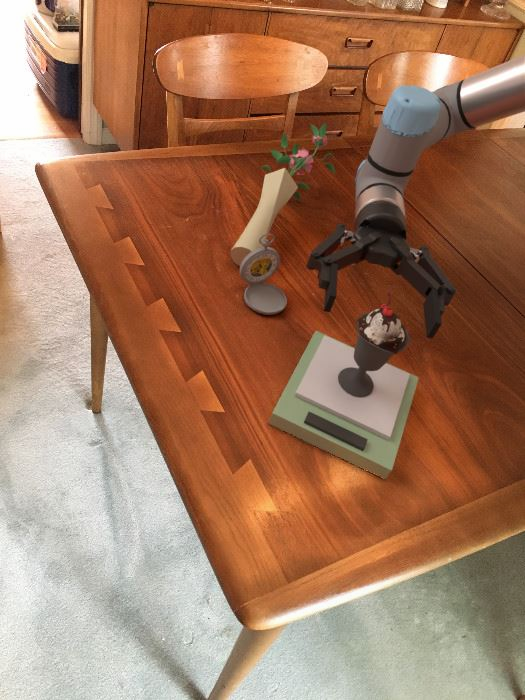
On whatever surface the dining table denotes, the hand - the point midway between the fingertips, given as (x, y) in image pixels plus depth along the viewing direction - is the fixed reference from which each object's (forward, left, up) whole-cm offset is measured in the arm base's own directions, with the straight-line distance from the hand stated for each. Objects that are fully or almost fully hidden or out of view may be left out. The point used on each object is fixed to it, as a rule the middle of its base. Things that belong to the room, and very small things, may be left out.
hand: (382, 317), depth 69 cm
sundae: (-1, +3, -10) cm, 10 cm away
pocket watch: (+17, -9, -13) cm, 23 cm away
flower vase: (+24, -29, -13) cm, 40 cm away
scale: (-1, +4, -13) cm, 13 cm away
